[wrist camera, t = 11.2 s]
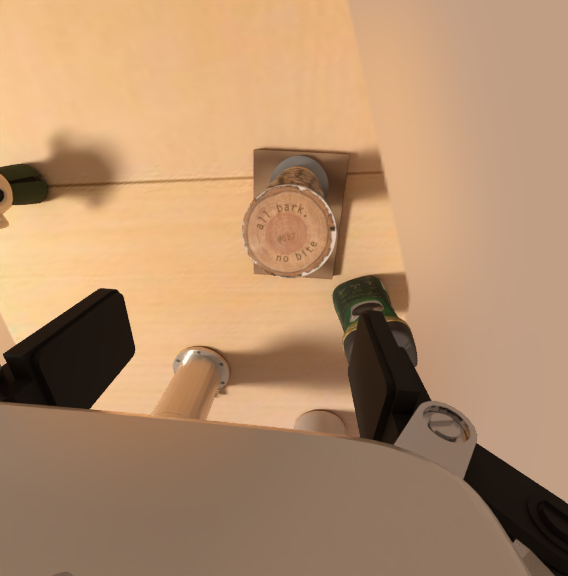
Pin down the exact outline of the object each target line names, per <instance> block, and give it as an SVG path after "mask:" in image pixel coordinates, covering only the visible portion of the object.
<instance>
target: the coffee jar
mask: <svg viewBox="0 0 568 576" xmlns="http://www.w3.org/2000/svg"><path fill="white" fill-rule="evenodd" d="M333 303H334V307H335V310H336V313H337V315H338V318H339V320H340V322H341V325H342V327H343V330H344V336H343V341H342V344H343V350H344V354H345V357H346V359H347V361H348V363H349V362H350V357H351V352H352V348H353V343H354V338H355V333H356V329H357V324H358V319H359V315H360V313H365V311H366V310H373V311H381V312H382V313H383V315H384V317H385V319H386V321H387V323H388V325H389V327H390V330H391V332H392V334H393V336H394V338H395V340H396V342H397V344H398V346H400V347H403V348H404V349H405V350H406V352H407V354H408V356H409V358H410V360H411V362H412V364H413V365H414V367H415V366H416V365H417V352H416V346H415V343H414V339H413V335H412V332H411V329H410V327H409V326H408V324H407V323H406V322H405V321H403V320H402V319H400V318H399V317H398V316H397V315H396V313H395V311H394V309H393V307H392V304H391V301H390V299H389V296H388V293H387V291H386V288H385V286H384V284H383V283H382V281H381V280H380V279H379V278H376V277H372V276H369V277H362V278H358V279H354V280H351V281H348V282H345V283H343V284H340V285H339V286H337V287H336V288H335V290H334V292H333Z"/></svg>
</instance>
